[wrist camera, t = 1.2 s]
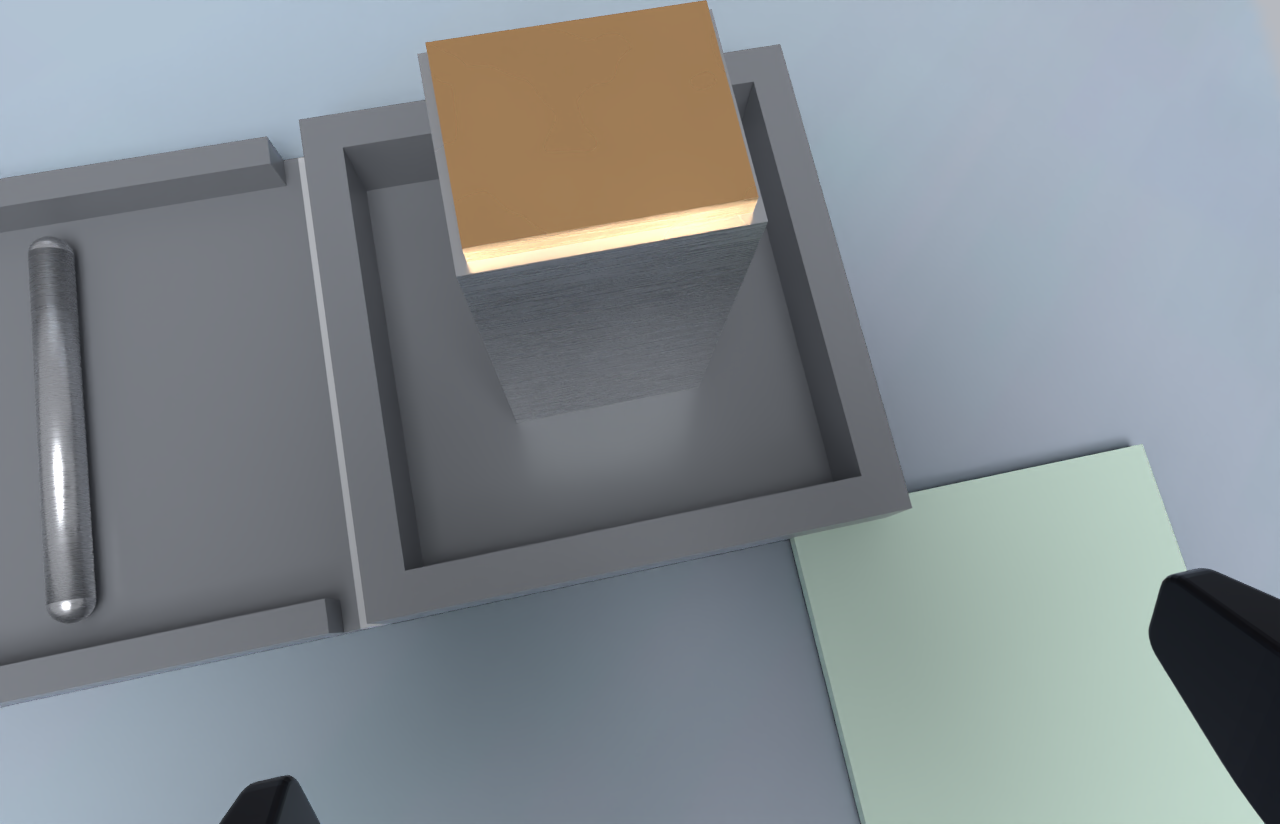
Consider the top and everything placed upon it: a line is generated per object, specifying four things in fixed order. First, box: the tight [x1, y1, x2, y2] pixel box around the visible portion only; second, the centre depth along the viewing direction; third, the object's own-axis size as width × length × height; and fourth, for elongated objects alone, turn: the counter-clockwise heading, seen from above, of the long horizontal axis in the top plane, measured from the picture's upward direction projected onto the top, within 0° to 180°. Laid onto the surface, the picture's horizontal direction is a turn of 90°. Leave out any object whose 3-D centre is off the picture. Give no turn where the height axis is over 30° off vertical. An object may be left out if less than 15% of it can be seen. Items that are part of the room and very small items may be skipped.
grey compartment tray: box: [0, 44, 912, 707], centre depth 22 cm, size 13×27×2 cm, turn 102°
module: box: [418, 0, 768, 423], centre depth 18 cm, size 4×5×10 cm
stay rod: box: [28, 236, 96, 624], centre depth 21 cm, size 10×1×1 cm, turn 12°
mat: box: [790, 444, 1264, 824], centre depth 22 cm, size 10×10×1 cm
